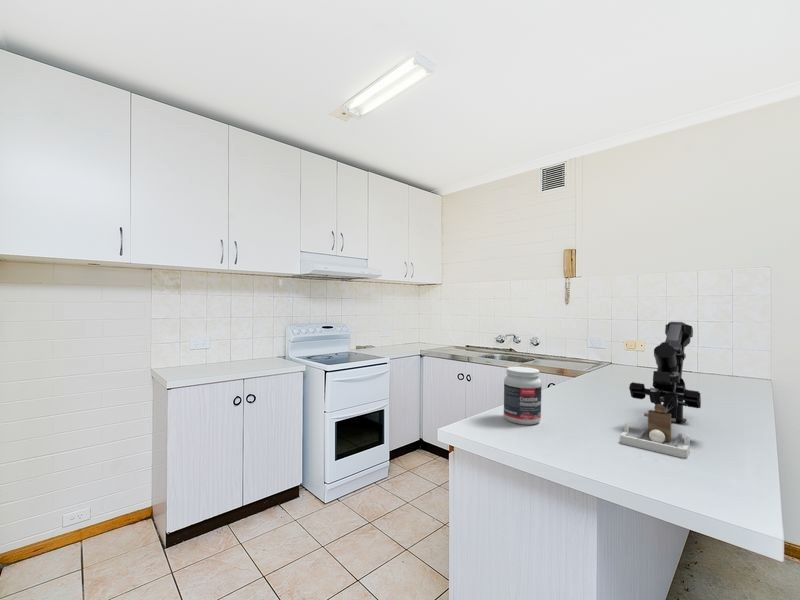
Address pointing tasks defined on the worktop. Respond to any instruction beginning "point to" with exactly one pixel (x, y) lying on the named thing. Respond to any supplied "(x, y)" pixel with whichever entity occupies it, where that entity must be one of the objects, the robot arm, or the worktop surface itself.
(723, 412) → the worktop surface
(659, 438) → the ball
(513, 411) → the supplement tub
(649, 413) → the figure
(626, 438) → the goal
